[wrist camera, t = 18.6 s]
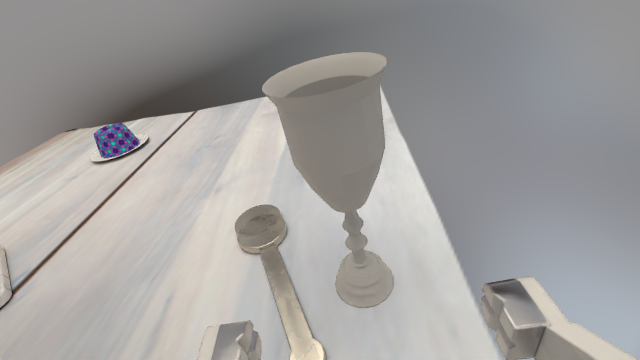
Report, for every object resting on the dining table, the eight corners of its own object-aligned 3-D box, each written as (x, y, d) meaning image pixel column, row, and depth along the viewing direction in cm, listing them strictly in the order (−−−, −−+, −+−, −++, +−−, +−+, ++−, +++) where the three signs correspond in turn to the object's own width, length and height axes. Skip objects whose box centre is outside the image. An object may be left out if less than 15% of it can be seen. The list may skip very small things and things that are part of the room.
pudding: (93, 152, 69) (79, 131, 67) (147, 132, 73) (136, 111, 71) (90, 171, 60) (73, 148, 57) (152, 147, 64) (139, 124, 61)
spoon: (349, 358, 21) (347, 351, 21) (277, 397, 20) (273, 391, 20) (275, 204, 38) (273, 198, 38) (234, 221, 37) (231, 215, 37)
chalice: (399, 328, 22) (372, 90, 13) (314, 311, 25) (236, 102, 15) (408, 252, 28) (395, 46, 18) (338, 245, 30) (293, 60, 21)
